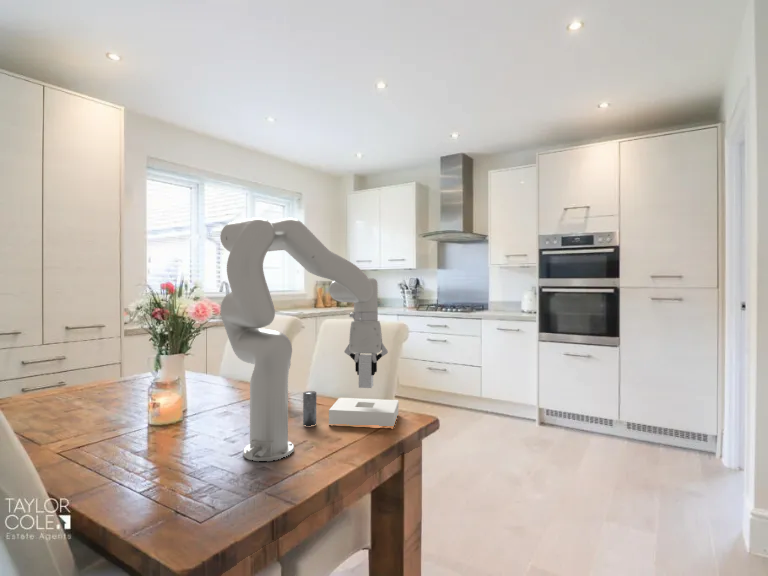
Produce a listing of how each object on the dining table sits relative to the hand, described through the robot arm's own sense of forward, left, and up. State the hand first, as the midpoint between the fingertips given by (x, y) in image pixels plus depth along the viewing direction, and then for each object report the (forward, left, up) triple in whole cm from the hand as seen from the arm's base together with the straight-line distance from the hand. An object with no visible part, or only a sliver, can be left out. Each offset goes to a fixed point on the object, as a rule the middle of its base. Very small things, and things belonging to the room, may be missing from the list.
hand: (366, 373), depth 138 cm
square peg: (-1, 0, -4) cm, 4 cm away
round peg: (-7, +16, -15) cm, 23 cm away
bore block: (0, 0, -15) cm, 15 cm away
